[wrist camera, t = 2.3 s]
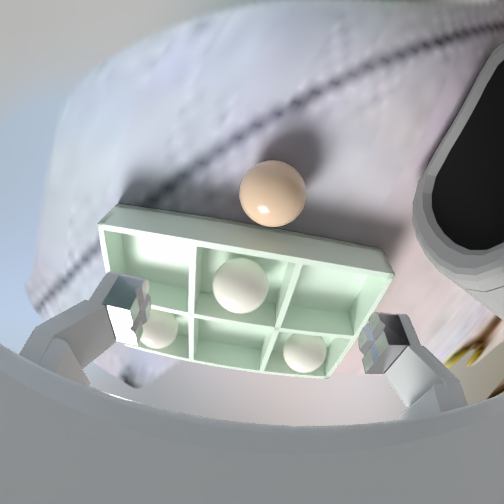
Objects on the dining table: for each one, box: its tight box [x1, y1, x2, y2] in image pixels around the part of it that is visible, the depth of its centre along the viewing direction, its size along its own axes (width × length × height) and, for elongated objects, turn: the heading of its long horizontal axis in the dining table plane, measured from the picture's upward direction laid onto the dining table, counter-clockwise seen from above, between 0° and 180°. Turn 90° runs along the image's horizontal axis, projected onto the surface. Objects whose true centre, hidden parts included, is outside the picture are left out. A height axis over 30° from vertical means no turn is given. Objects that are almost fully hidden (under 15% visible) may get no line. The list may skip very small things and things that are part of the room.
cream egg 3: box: [283, 333, 327, 373], centre depth 26 cm, size 4×4×4 cm
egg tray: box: [98, 204, 395, 379], centre depth 25 cm, size 23×16×4 cm
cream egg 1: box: [140, 309, 178, 349], centre depth 26 cm, size 4×4×4 cm
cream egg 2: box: [213, 258, 269, 314], centre depth 22 cm, size 4×4×4 cm
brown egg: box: [239, 160, 307, 227], centre depth 18 cm, size 4×4×4 cm
